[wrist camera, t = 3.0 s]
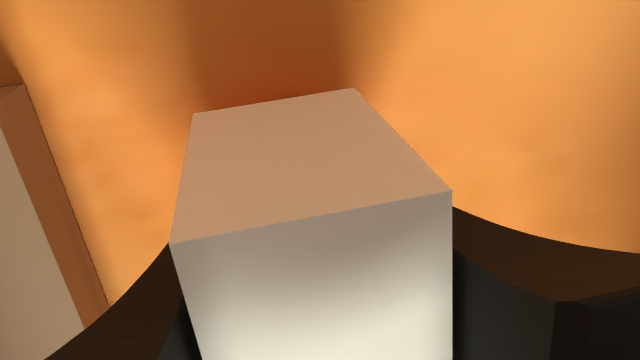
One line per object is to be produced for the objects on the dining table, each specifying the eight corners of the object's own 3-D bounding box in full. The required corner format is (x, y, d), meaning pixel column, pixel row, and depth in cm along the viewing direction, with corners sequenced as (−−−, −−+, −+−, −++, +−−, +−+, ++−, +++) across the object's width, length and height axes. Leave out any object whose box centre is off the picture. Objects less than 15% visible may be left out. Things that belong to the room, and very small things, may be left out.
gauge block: (353, 87, 13) (452, 189, 7) (371, 281, 15) (452, 463, 10) (192, 113, 12) (168, 243, 7) (238, 308, 15) (247, 514, 9)
